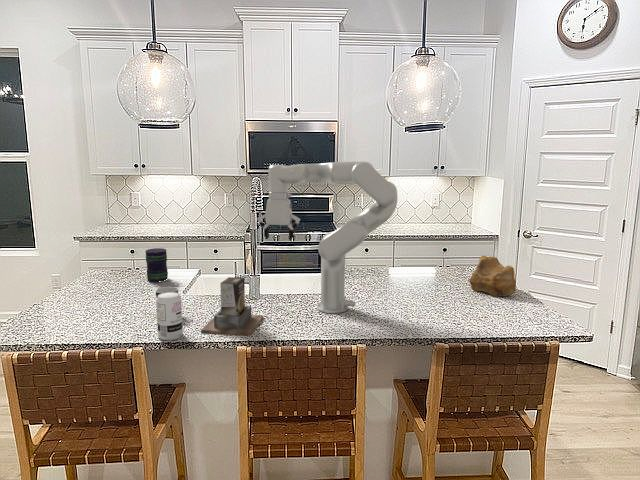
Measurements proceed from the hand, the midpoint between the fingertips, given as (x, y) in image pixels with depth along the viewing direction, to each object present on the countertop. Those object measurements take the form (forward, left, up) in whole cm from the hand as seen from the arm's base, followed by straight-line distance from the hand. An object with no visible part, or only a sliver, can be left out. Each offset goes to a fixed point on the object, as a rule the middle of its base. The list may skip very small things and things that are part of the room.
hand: (278, 238), depth 197 cm
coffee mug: (+40, +18, -28) cm, 52 cm away
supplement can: (+30, +38, -28) cm, 56 cm away
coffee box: (+12, +24, -28) cm, 38 cm away
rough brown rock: (-90, -35, -29) cm, 100 cm away
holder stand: (+12, +24, -28) cm, 39 cm away
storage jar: (+68, -30, -28) cm, 80 cm away
